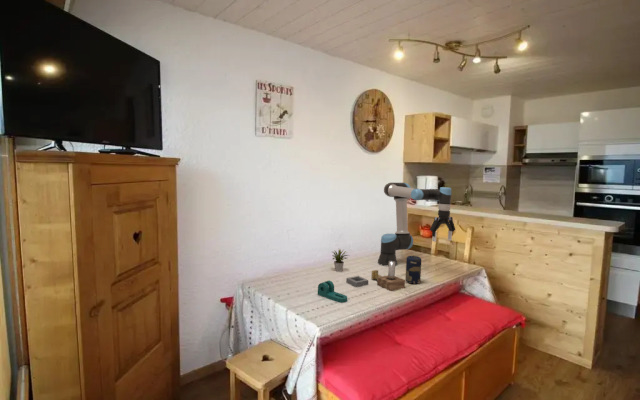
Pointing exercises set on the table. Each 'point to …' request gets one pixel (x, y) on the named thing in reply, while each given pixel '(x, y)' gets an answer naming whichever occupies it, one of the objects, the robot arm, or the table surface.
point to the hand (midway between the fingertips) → (441, 240)
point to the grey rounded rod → (391, 270)
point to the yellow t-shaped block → (375, 275)
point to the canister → (413, 269)
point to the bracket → (330, 292)
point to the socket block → (391, 283)
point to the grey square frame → (357, 281)
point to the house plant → (339, 260)
